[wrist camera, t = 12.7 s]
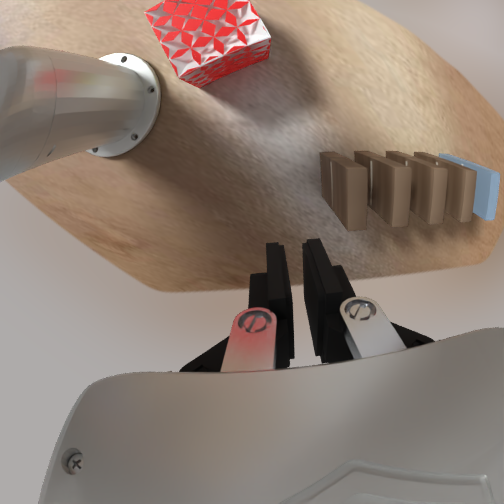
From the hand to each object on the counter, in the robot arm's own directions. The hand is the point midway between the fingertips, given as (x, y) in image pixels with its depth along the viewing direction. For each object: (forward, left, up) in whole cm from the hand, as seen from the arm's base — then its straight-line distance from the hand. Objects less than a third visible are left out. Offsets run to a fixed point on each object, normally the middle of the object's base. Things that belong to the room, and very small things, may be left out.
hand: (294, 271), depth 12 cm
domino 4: (+18, 0, -19) cm, 26 cm away
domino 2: (+10, 0, -19) cm, 22 cm away
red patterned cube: (-4, +16, -19) cm, 25 cm away
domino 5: (+22, 0, -19) cm, 29 cm away
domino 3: (+14, 0, -19) cm, 24 cm away
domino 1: (+6, 0, -19) cm, 20 cm away
